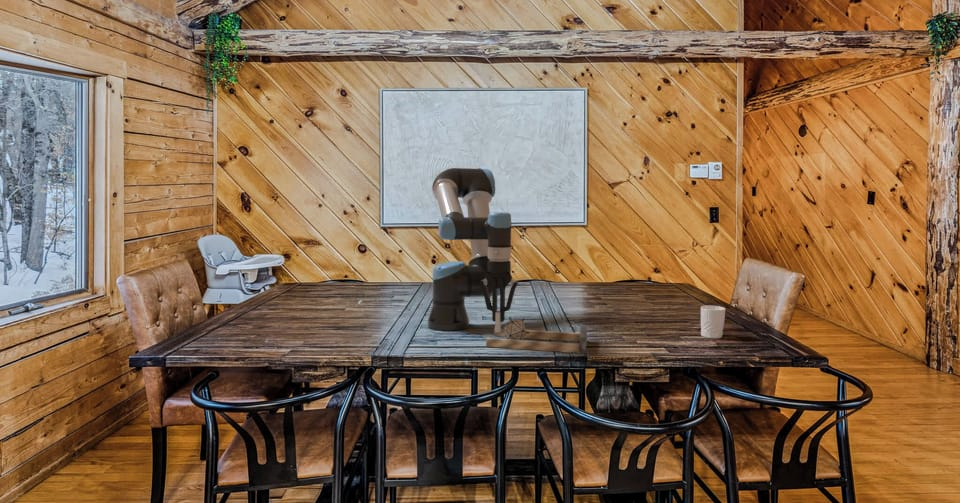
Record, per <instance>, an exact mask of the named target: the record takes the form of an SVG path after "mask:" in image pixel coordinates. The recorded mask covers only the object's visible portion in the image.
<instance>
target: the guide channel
mask: <svg viewBox="0 0 960 503" xmlns="http://www.w3.org/2000/svg"><path fill="white" fill-rule="evenodd" d="M526 330H527V332H529V334H528V333H527V334H526V335H525V336H524V337H523V339H522V340H514V339H507V338H506V336H505V333H504V330H503V329H501V332H495V328H494V332H493V336H494V337H495V338H494V337H486V341H485V342H486V345H485V346H486V348H500V349H501V348H503V349H515V350H517V349H518V350H530V351H542V352H543V351H545V352H556V351H561V352H560V353H571V352H580V353H579V354H586V353H587V352H586V351H587V342H588V325H580V329H579V330H580V332H567V331H566V332H565V331H552V330H551V331H549V330H534V329H532V330H531V329H526ZM497 337H499V338H497ZM500 337H501V338H500ZM502 337H505V338H502ZM527 339H533V340H527ZM534 339H535V340H534ZM543 340H544V341H543ZM545 340H549V341H545ZM556 341H558V342H556ZM560 341H564V342H560ZM565 341H567V342H565ZM577 341H579V342H578V343H572V342H577Z"/></svg>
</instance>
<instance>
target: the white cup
mask: <svg viewBox="0 0 960 503" xmlns="http://www.w3.org/2000/svg"><path fill="white" fill-rule="evenodd" d="M725 315H726V308H725V307H723V306H719V305H707V304H706V305H701V306H700V328H701V329H700V335H701V336H702V337H705V338H709V339H721V338H722V337H723V330H724V326H725V325H724V324H725V319H726V318H725V317H726V316H725Z"/></svg>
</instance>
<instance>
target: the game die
mask: <svg viewBox="0 0 960 503" xmlns="http://www.w3.org/2000/svg"><path fill="white" fill-rule="evenodd" d="M508 319H509V320H508V321H507V322H506V324H504V326H503V327H502V326H501V329H503V330H504V333H505V336H506V337H505V339H514V340H524V338H523V337H524V336H525V335H526V334H527V333H528V334H529V332H527V330H528V329H527V328H526V325H525V318H522V319H512V317H511V316H509V318H508Z"/></svg>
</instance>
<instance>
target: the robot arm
mask: <svg viewBox="0 0 960 503" xmlns="http://www.w3.org/2000/svg"><path fill="white" fill-rule="evenodd" d="M431 189H432V194H433V196H434V198H435V200H437V203H438V208H439V211H440V215H441V217H440V218H439V220H438V236H439V238H440V239H441V240H444V241H445V240H449V241H457V240H458V241H459V240H461V241H463V240H464V241H465V240H466V241H467V240H469V241H470V251H471V258H470V259H469V261H468V265H467V264H466V263H465V261H461V260H458V261H457V260H453V261H447V262H446V261H445V262H442V263H438V264H436V265H435V266H434V267H433V269H432V276H431V280H432V306H431V309H430V312H429V315H428V319H427V327H428V328H429V329H433V330H437V331H459V330H460V331H461V330H464V329H468V328H469V327H470V319H469V315H468V312H467V309H466V306H465V304H466V303H465V299H466V298H484V301H485V306H486V309H487V311H491V313H492V322H495V323H494V324H495V325H494V326H495V327H494V329H495V332H501V327H502V323H503V322H505V319H506V318H505V317H506V316H505V315H506V314H505V313H506V312H508V311H510V309H511V307H512V303H513V301H514V300H513V299H514V296H515V292H516V288H517V287H518V285H519V281H517V280H514V279H513V277H512V273H511V269H512V268H511V264H512V263H511V261H510V259H512V257H511V256H512V247H511V246H512V225H513V222H512V215H511V213H509V212H500V211H499V212H496V211H495V212H493V211H492V212H490V203H491V202H492V200H493V198H494V197H495V195H496V181H495V177H494V173H493V172H492V171H491V170H490V169H488V168H482V167H478V168H470V167H469V168H467V167H466V168H462V167H451V168H447V169H445V170H444V171H441V172H439V174H438V175H437V176H436V177H435V179H434V180H433V183H432V186H431ZM459 198H461V199H462V203H463V204H464V205H465V206H467V207H466V208H467V217H465V216H464V212H463V209H462V207H461V203H460V200H459ZM509 284H510V288H509V289H510V290H509V294H508V296H507V297H508V298H507V301H506V288H507V287H508V285H509ZM491 297H492V300H491ZM498 297H499V310H498Z"/></svg>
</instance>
